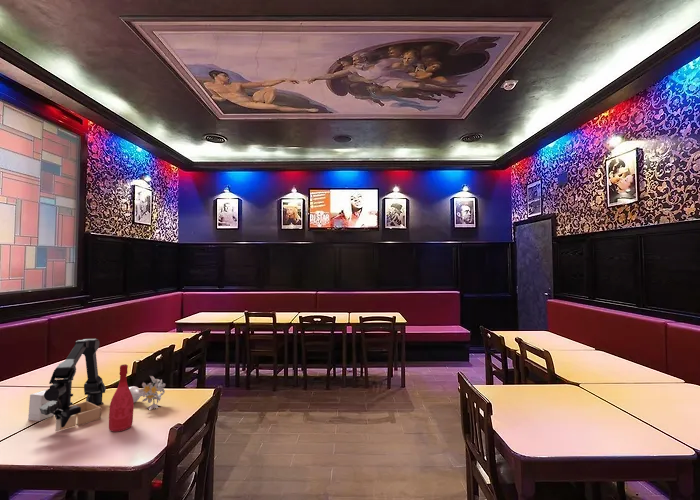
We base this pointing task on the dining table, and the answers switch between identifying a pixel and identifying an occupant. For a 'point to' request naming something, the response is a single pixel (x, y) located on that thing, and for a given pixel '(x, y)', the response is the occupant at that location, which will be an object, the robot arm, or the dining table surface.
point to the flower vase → (148, 392)
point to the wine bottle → (121, 405)
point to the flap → (70, 423)
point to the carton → (87, 413)
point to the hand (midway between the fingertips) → (61, 426)
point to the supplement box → (37, 406)
